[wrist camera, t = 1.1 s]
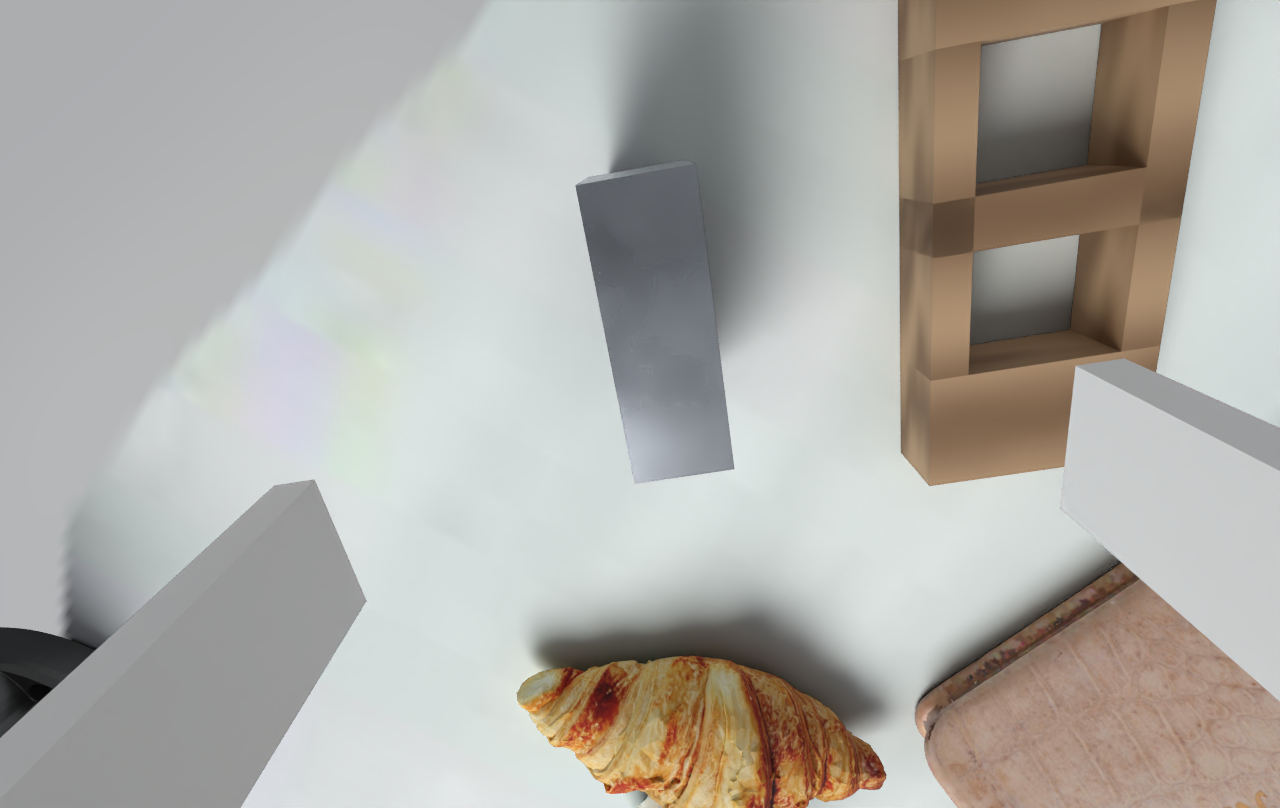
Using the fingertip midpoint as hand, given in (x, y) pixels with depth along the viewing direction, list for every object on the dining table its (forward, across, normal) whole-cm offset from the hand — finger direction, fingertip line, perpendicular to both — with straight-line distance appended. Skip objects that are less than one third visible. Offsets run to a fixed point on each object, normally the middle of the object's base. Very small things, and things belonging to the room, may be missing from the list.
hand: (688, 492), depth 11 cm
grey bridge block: (+17, 0, 0) cm, 17 cm away
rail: (+18, +15, +1) cm, 23 cm away
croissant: (+17, -2, -24) cm, 30 cm away
